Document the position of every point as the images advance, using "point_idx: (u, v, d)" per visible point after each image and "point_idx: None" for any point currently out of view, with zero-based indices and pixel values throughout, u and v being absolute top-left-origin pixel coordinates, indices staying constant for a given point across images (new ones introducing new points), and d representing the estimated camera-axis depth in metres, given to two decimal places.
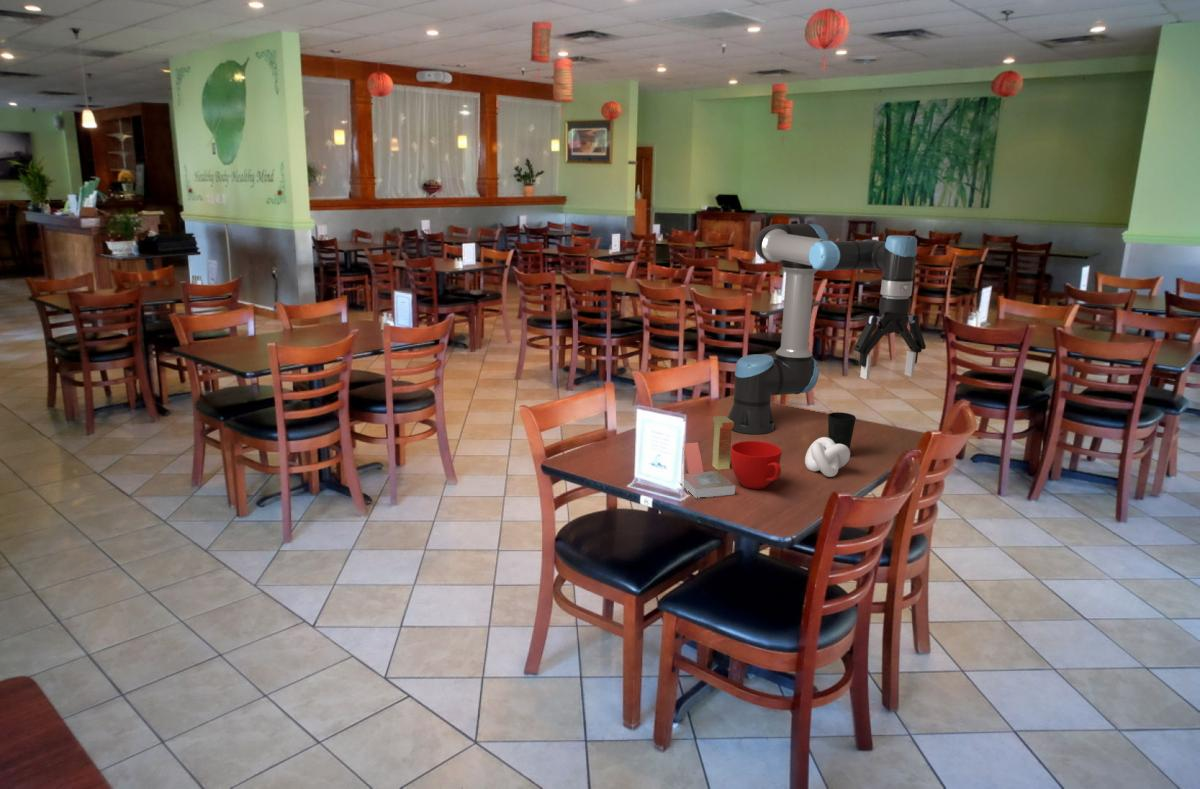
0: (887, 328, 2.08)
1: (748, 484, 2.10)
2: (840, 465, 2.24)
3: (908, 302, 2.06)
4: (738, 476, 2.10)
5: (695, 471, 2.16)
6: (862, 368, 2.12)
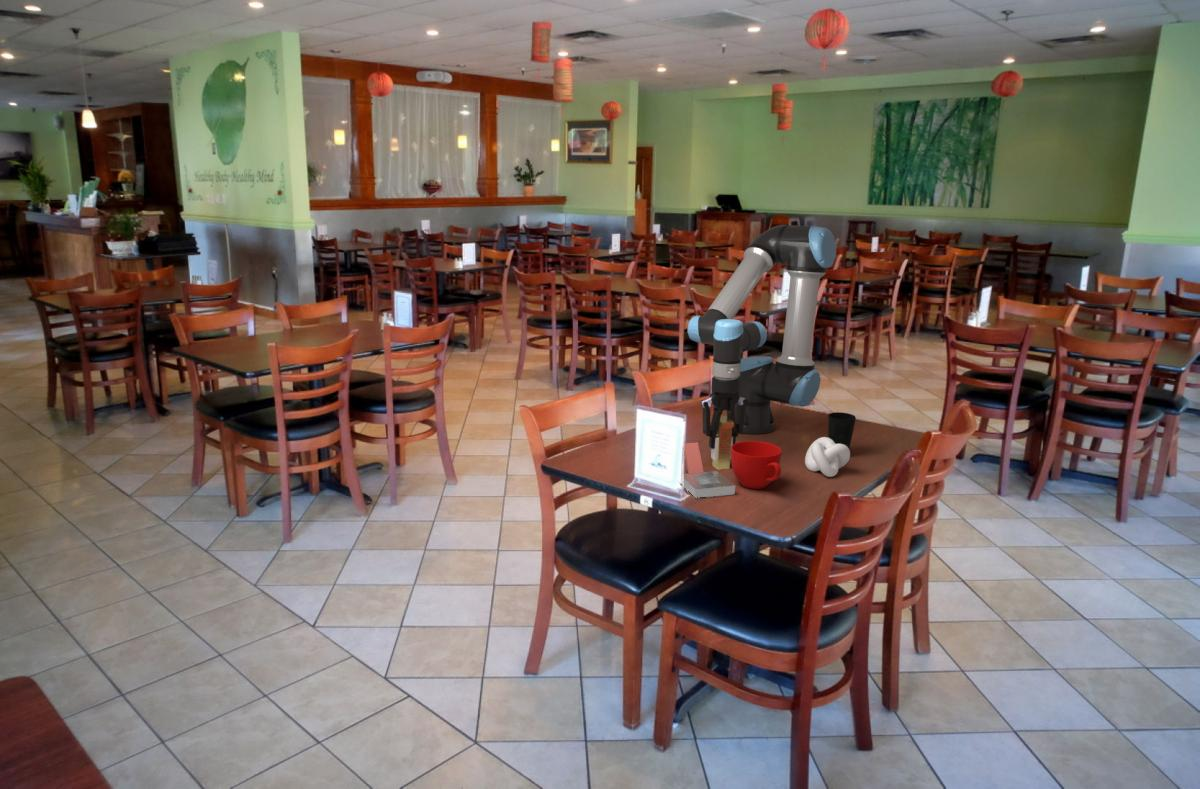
0: (720, 408, 2.20)
1: (748, 484, 2.10)
2: (840, 465, 2.24)
3: (736, 383, 2.17)
4: (738, 476, 2.10)
5: (695, 471, 2.16)
6: (712, 449, 2.25)
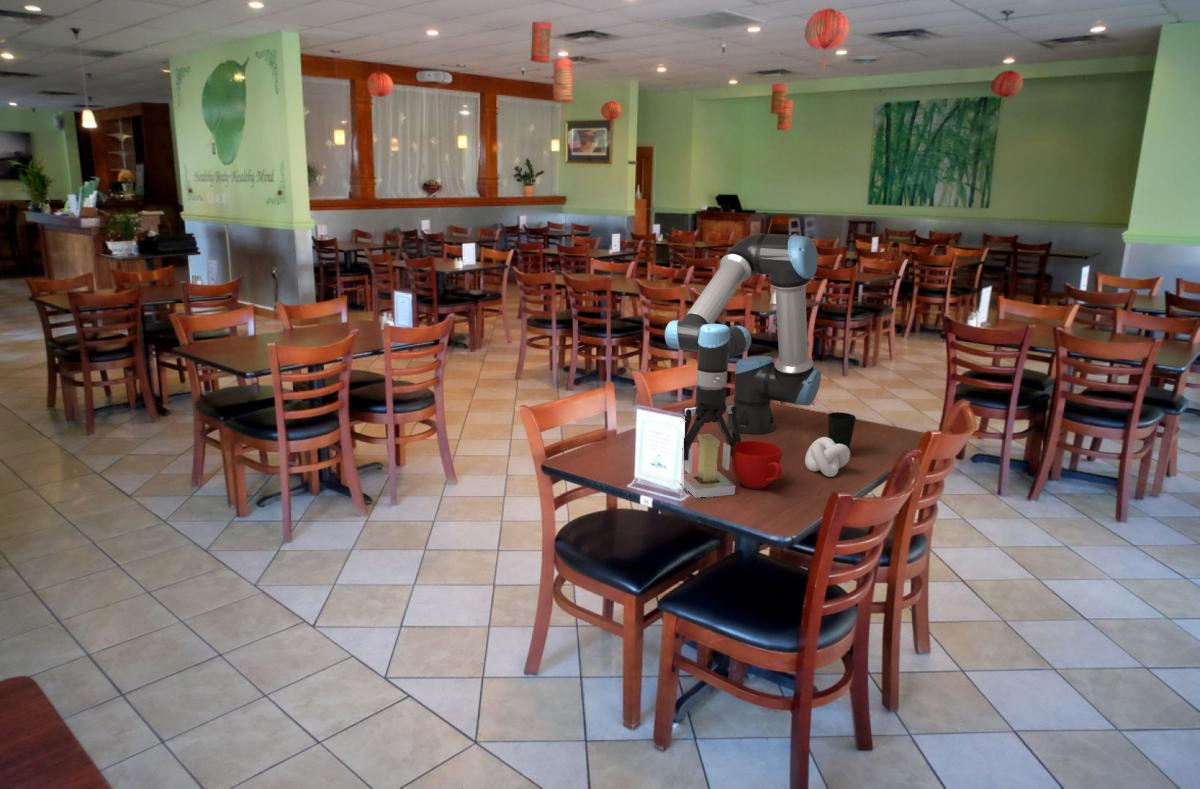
0: (703, 419, 2.03)
1: (748, 484, 2.10)
2: (840, 465, 2.24)
3: (722, 393, 2.01)
4: (738, 475, 2.10)
5: (695, 471, 2.16)
6: (686, 461, 2.08)
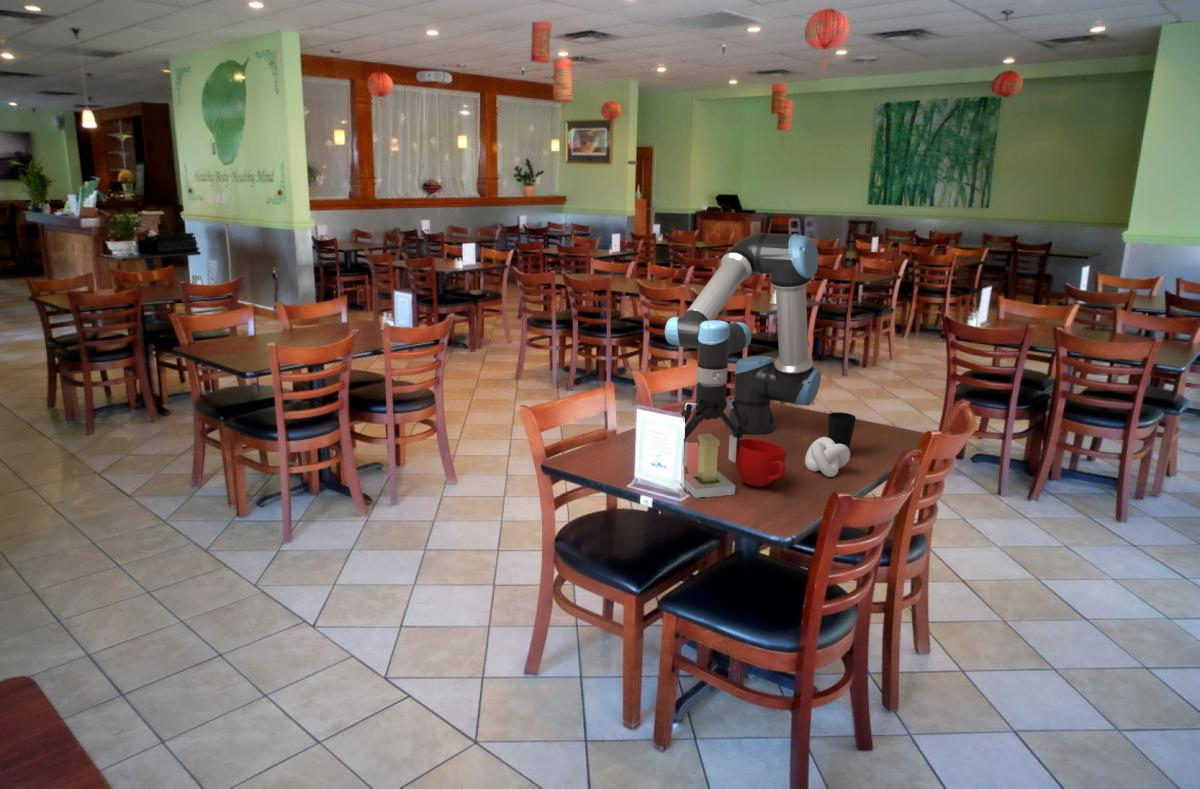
0: (703, 415, 2.03)
1: (749, 480, 2.10)
2: (840, 465, 2.24)
3: (722, 389, 2.01)
4: (740, 471, 2.10)
5: (695, 471, 2.16)
6: None
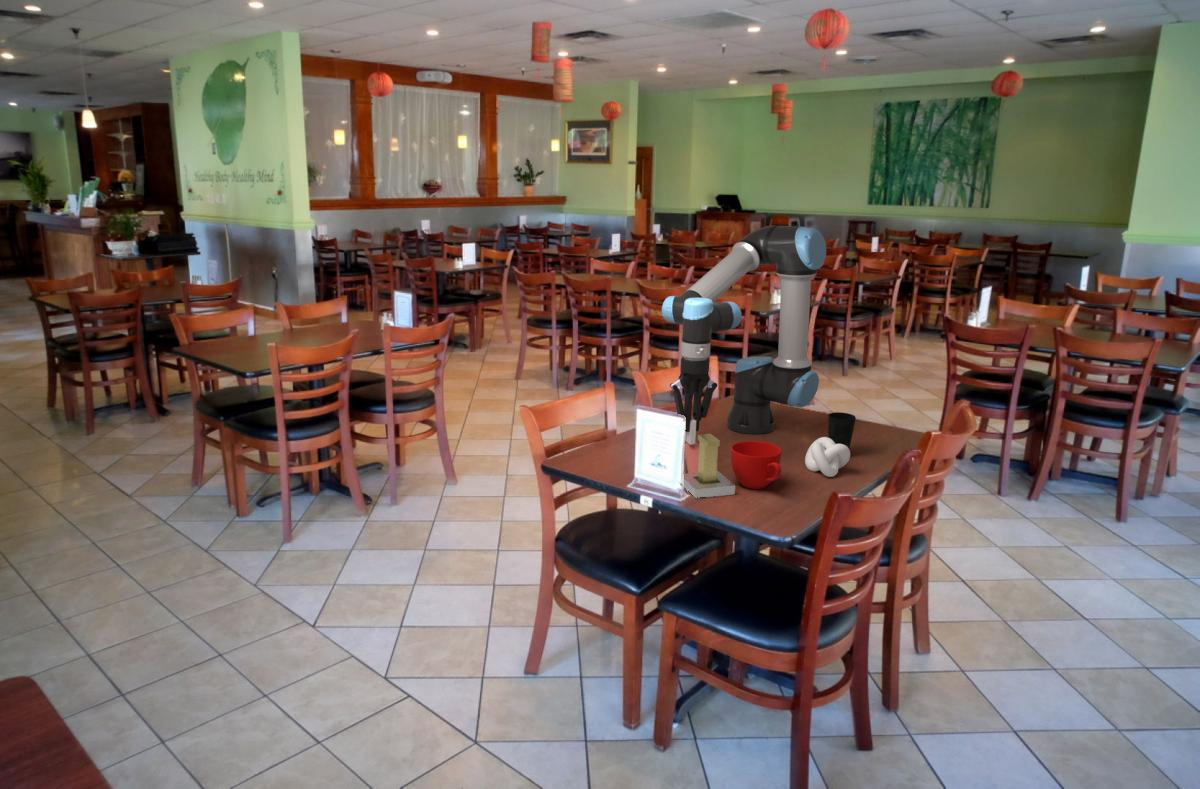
0: (691, 390, 2.13)
1: (748, 484, 2.10)
2: (840, 465, 2.24)
3: (705, 363, 2.10)
4: (738, 476, 2.10)
5: (695, 471, 2.16)
6: (687, 433, 2.18)
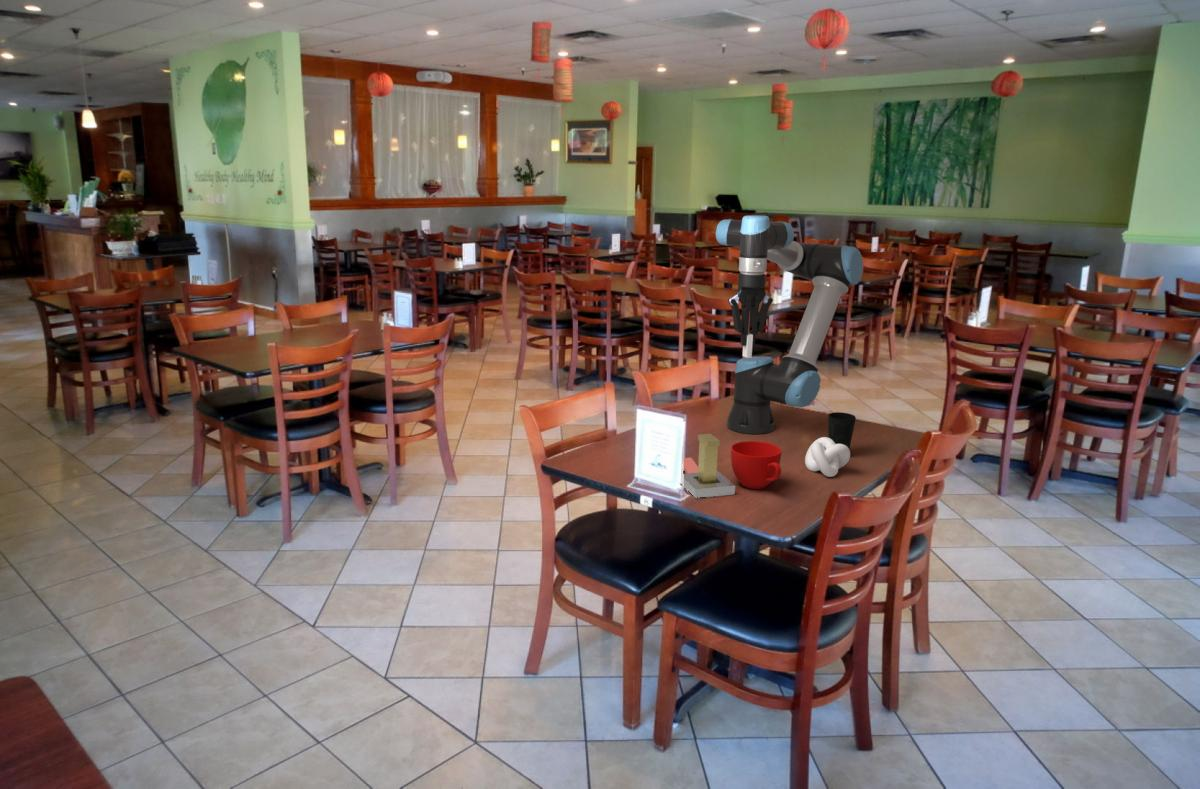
0: (748, 304, 2.23)
1: (748, 484, 2.10)
2: (840, 465, 2.24)
3: (762, 278, 2.20)
4: (738, 476, 2.10)
5: (694, 472, 2.17)
6: (744, 347, 2.29)
